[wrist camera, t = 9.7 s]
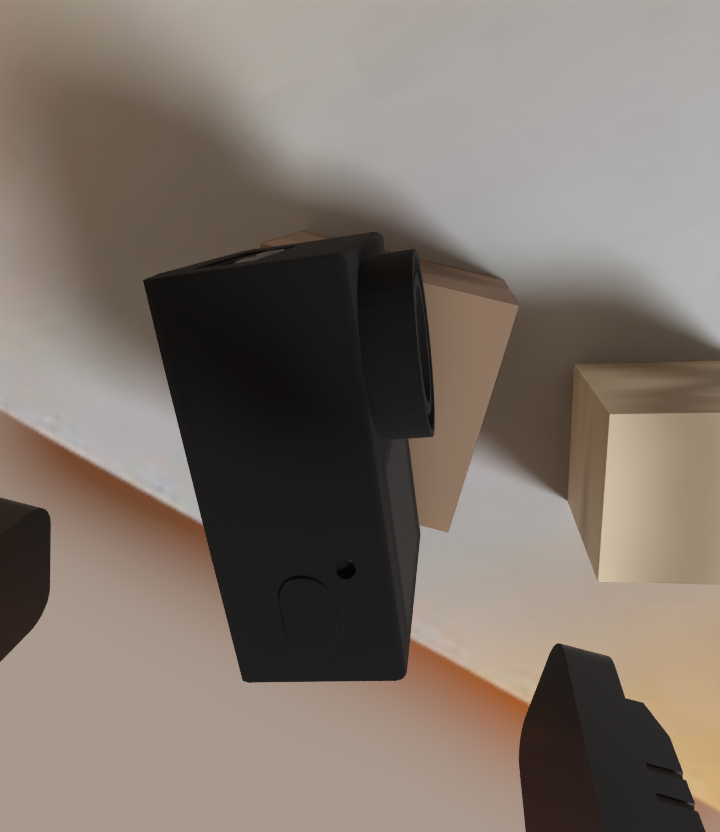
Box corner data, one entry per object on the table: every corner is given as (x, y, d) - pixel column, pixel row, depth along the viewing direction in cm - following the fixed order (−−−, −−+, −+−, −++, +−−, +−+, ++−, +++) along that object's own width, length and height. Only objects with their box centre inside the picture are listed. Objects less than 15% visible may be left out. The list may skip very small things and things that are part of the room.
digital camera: (455, 537, 22) (456, 687, 15) (303, 545, 22) (241, 689, 16) (422, 224, 18) (404, 242, 12) (245, 249, 19) (138, 279, 13)
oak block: (737, 359, 24) (825, 410, 18) (718, 500, 26) (792, 586, 20) (573, 363, 25) (609, 414, 19) (567, 500, 27) (598, 581, 21)
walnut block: (503, 279, 24) (519, 306, 19) (448, 461, 27) (447, 532, 22) (304, 231, 25) (260, 243, 19) (270, 416, 28) (225, 473, 22)
